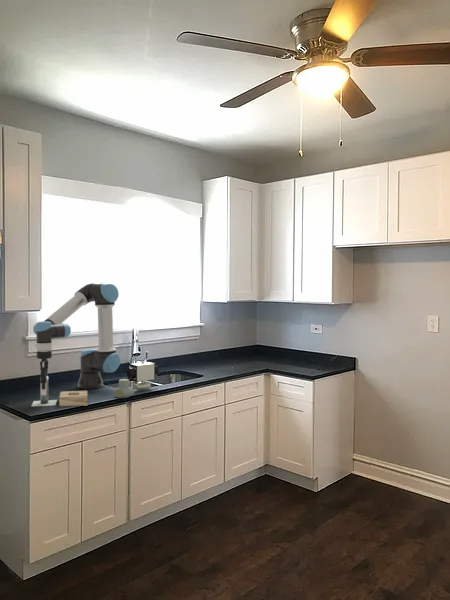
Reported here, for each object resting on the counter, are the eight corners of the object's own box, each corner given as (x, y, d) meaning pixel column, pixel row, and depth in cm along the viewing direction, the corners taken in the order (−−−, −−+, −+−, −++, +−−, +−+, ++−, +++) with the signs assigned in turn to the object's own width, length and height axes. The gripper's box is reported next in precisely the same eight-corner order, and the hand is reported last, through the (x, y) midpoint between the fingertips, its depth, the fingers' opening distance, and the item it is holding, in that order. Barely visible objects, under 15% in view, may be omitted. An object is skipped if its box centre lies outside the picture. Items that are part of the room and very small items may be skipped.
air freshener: (111, 397, 282) (111, 379, 282) (121, 394, 289) (121, 377, 289) (126, 399, 277) (126, 381, 276) (136, 397, 284) (136, 379, 283)
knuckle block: (60, 400, 273) (60, 391, 273) (87, 399, 277) (87, 390, 277) (59, 407, 260) (59, 397, 259) (87, 405, 263) (87, 396, 263)
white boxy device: (151, 386, 311) (151, 358, 310) (158, 389, 304) (158, 360, 303) (125, 390, 299) (125, 361, 299) (132, 393, 293) (132, 363, 292)
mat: (33, 401, 270) (33, 401, 270) (57, 400, 273) (57, 399, 273) (31, 407, 259) (31, 406, 259) (55, 406, 262) (55, 405, 262)
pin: (40, 402, 267) (40, 376, 267) (48, 401, 268) (48, 376, 268) (40, 404, 264) (39, 377, 263) (48, 403, 265) (47, 377, 264)
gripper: (38, 348, 274) (38, 389, 275) (34, 353, 254) (34, 398, 255) (52, 347, 276) (53, 388, 277) (50, 353, 256) (50, 397, 257)
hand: (44, 393), depth 266 cm, fingers open, 8 cm apart
